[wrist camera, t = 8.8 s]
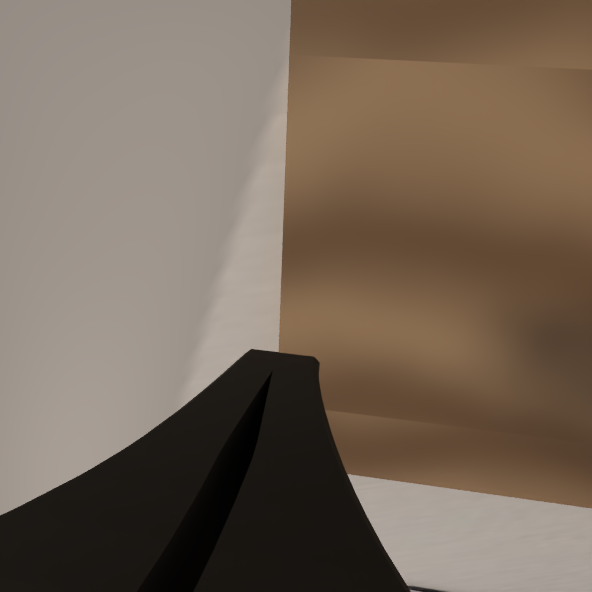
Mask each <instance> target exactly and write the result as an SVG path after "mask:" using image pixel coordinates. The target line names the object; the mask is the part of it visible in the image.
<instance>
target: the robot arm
mask: <svg viewBox="0 0 592 592" xmlns="http://www.w3.org/2000/svg"><path fill="white" fill-rule="evenodd" d="M319 367H320V362H319V361H318V360H317V359H316V358H315V357H313V356H305V355H297V354H288V353H280V352H271V351H263V350H255V349H251V350H249V351H248V352H247V353H245V354H244V355H243V356H242V357H241V358H240V359H239V360H237V361H236V362H235V363H234V364H233V365H232V366H231V367H230V368H228V369H227V370H226V371H225V372H224V373H223V374H222V375H221V376H219V377H218V378H217V379H216V380H215V381H214V382H212V383H211V384H210V385H209V386H208V387H207V388H205V389H204V390H203V391H202V392H200V393H199V394H198V395H197V396H196V397H194V398H193V399H192V400H191V401H190V402H188V403H187V404H186V405H185V406H183V407H182V408H181V409H180V410H178V411H177V412H176V413H174V414H173V415H172V416H170V417H169V418H168V419H166V420H165V421H163V422H162V423H161V424H159V425H158V426H157V427H155V428H154V429H153V430H151V431H150V432H148V433H147V434H146V435H144V436H143V437H141V438H140V439H139V440H137V441H136V442H134V443H133V444H131V445H129V446H128V447H126V448H125V449H123V450H122V451H120V452H119V453H117V454H115V455H113V456H112V457H110V458H109V459H107V460H105V461H103V462H102V463H100V464H99V465H97V466H95V467H94V468H92V469H90V470H88V471H87V472H85V473H83V474H81V475H80V476H77V477H76V478H74V479H72V480H70V481H68V482H66V483H64V484H62V485H60V486H58V487H56V488H54V489H52V490H51V491H49V492H47V493H45V494H43V495H41V496H39V497H37V498H35V499H33V500H31V501H29V502H27V503H25V504H23V505H21V506H20V507H18V508H15V509H14V510H11V511H9V512H7V513H5V514H3V515H0V592H421V591H415V590H409V588H408V586H407V585H406V583H405V582H404V580H403V578H402V577H401V575H400V573H399V572H398V570H397V569H396V567H395V565H394V564H393V562H392V560H391V559H390V557H389V556H388V554H387V552H386V551H385V549H384V547H383V546H382V544H381V542H380V540H379V538H378V536H377V534H376V533H375V531H374V529H373V527H372V525H371V523H370V521H369V519H368V518H367V516H366V514H365V512H364V510H363V507H362V505H361V503H360V501H359V499H358V497H357V495H356V493H355V491H354V489H353V486H352V484H351V482H350V480H349V477H348V475H347V473H346V470H345V468H344V465H343V463H342V460H341V457H340V455H339V452H338V450H337V447H336V444H335V441H334V438H333V435H332V432H331V429H330V426H329V422H328V419H327V415H326V412H325V408H324V404H323V400H322V395H321V389H320V383H319Z"/></svg>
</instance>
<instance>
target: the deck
mask: <svg viewBox="0 0 592 592" xmlns="http://www.w3.org/2000/svg"><path fill="white" fill-rule="evenodd" d="M279 352H280V353H288V354H297V355H305V356H313V357H315V358H316V359H317V360H318V361H319V362H320V367H319V383H320V389H321V395H322V400H323V404H324V408H325V412H326V415H327V419H328V422H329V426H330V429H331V432H332V435H333V438H334V441H335V444H336V447H337V450H338V452H339V455H340V457H341V460H342V463H343V465H344V468H345V470H346V473H347V474H352V475H359V476H366V477H373V478H380V479H387V480H394V481H401V482H409V483H416V484H423V485H430V486H437V487H444V488H451V489H458V490H465V491H473V492H480V493H487V494H494V495H501V496H508V497H515V498H522V499H529V500H536V501H544V502H551V503H558V504H565V505H572V506H579V507H586V508H592V0H291V28H290V56H289V83H288V111H287V139H286V166H285V194H284V222H283V250H282V277H281V305H280V333H279Z"/></svg>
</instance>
